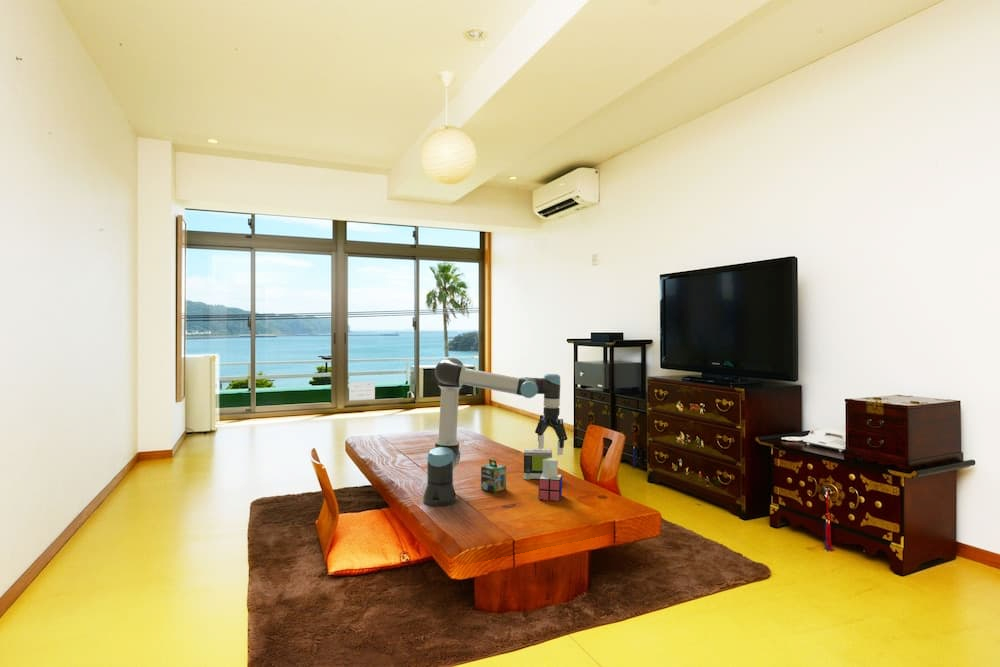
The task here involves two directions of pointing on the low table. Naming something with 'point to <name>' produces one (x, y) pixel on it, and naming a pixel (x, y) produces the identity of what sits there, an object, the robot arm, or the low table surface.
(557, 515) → the low table surface
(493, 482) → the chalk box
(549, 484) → the puzzle cube
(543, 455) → the tea box
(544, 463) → the plain white block
